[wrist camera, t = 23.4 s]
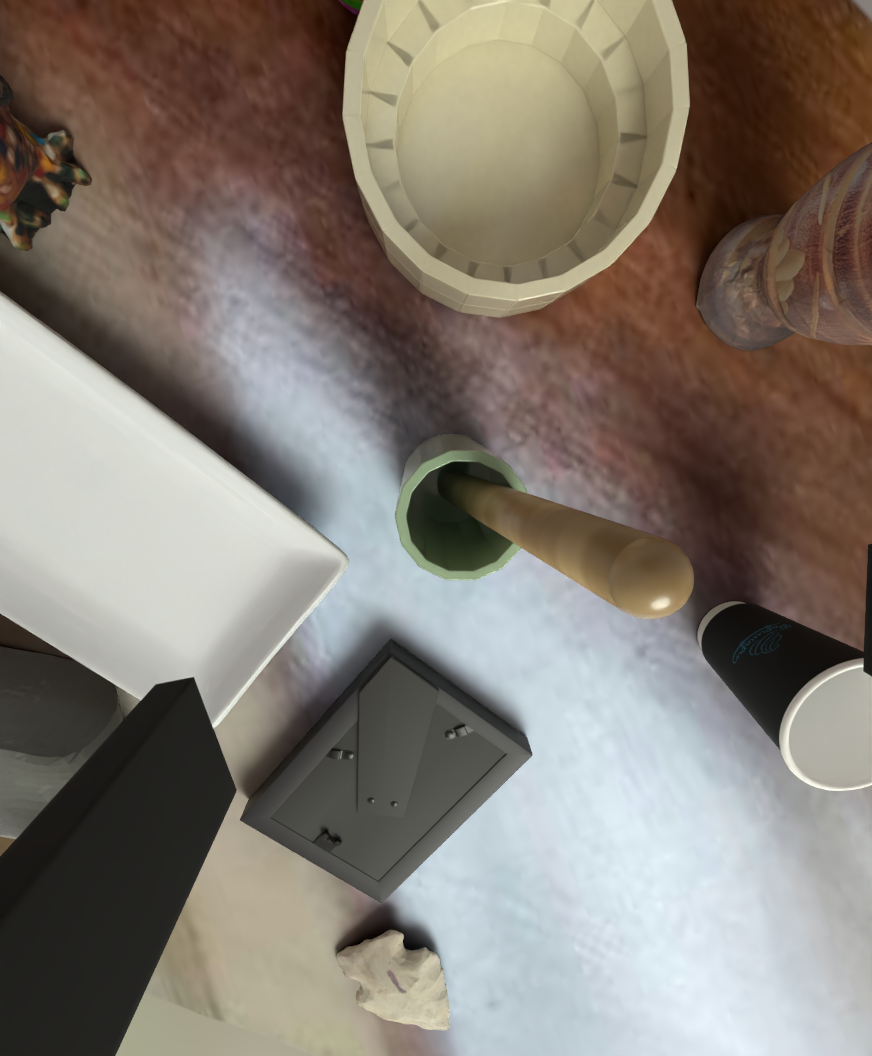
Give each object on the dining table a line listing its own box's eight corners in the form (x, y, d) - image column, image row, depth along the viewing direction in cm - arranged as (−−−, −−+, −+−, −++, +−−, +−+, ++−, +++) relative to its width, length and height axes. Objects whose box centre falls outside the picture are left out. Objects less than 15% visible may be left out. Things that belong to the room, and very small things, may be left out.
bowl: (619, -31, 26) (677, -153, 20) (644, 288, 30) (698, 263, 24) (328, 33, 26) (302, -70, 20) (392, 341, 30) (386, 328, 24)
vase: (487, 423, 32) (518, 436, 22) (503, 517, 33) (538, 567, 24) (393, 443, 32) (382, 464, 22) (413, 536, 34) (412, 593, 24)
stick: (461, 466, 32) (711, 535, 11) (467, 496, 32) (717, 619, 11) (431, 472, 32) (628, 558, 11) (438, 503, 32) (638, 643, 11)
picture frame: (390, 638, 35) (248, 800, 39) (389, 653, 33) (238, 824, 36) (527, 737, 38) (383, 881, 41) (534, 757, 36) (381, 908, 39)
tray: (221, 713, 36) (201, 746, 33) (-215, 436, 30) (-295, 441, 27) (362, 543, 33) (356, 559, 30) (-90, 198, 27) (-161, 171, 24)
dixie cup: (701, 568, 35) (825, 644, 24) (801, 595, 36) (964, 679, 25) (659, 666, 37) (757, 776, 26) (755, 689, 38) (888, 804, 27)
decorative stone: (400, 898, 43) (394, 932, 40) (486, 992, 44) (486, 1033, 41) (329, 943, 44) (319, 979, 41) (414, 1033, 45) (410, 1074, 42)
